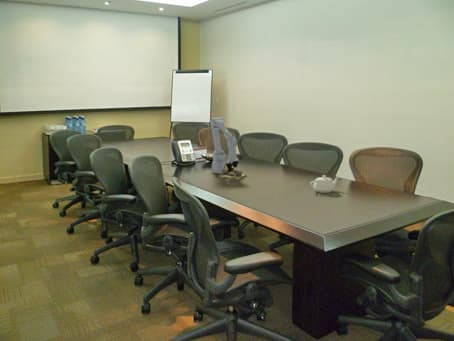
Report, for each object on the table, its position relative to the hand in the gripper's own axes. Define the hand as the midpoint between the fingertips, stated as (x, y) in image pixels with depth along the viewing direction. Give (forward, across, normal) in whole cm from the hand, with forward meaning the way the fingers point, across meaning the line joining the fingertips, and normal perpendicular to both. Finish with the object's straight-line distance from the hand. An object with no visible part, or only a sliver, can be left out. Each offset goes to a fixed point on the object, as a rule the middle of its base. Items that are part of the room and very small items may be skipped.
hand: (232, 171), depth 312 cm
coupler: (+3, 0, 0) cm, 3 cm away
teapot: (+4, -10, -76) cm, 76 cm away
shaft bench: (+4, 0, 0) cm, 4 cm away
